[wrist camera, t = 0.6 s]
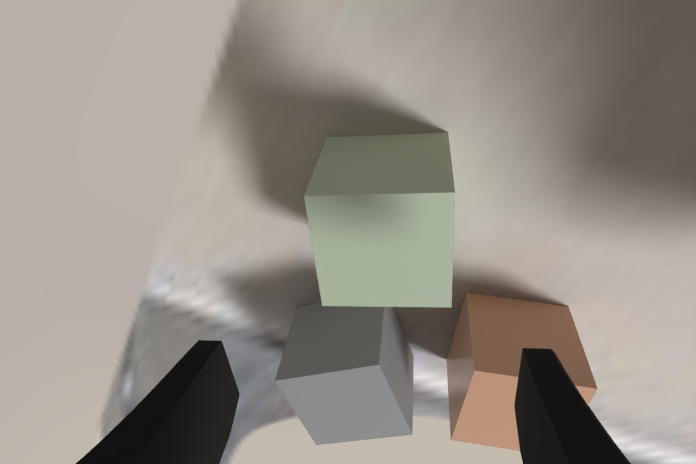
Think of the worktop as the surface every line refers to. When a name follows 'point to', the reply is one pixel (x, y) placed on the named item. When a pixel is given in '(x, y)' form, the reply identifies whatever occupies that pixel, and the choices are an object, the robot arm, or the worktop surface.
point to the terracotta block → (504, 363)
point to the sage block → (383, 220)
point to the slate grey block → (348, 373)
